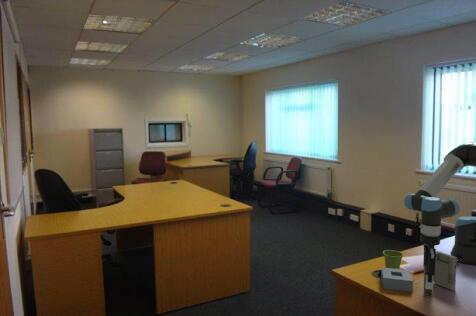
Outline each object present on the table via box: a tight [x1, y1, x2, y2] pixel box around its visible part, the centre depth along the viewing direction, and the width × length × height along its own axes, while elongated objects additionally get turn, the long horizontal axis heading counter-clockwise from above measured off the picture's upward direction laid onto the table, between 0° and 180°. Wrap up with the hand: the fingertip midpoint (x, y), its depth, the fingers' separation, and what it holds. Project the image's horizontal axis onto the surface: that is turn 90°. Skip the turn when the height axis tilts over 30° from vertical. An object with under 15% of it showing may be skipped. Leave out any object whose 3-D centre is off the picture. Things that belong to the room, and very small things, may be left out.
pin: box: [423, 266, 433, 297], centre depth 157 cm, size 3×3×12 cm
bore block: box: [380, 267, 414, 293], centre depth 166 cm, size 12×12×5 cm
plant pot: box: [382, 249, 404, 269], centre depth 182 cm, size 9×9×9 cm
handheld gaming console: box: [433, 250, 458, 291], centre depth 163 cm, size 9×4×15 cm, turn 28°
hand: (428, 286), depth 157 cm, fingers closed on pin, 3 cm apart
